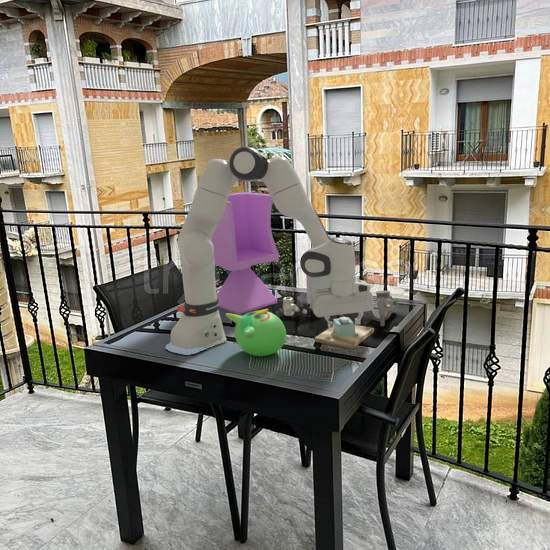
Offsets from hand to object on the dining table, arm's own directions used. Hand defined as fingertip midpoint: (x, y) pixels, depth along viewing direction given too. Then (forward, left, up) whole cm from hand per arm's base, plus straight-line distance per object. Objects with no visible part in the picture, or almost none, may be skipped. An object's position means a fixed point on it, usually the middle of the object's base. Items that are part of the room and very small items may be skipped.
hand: (344, 325), depth 181 cm
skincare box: (+23, +24, -4) cm, 33 cm away
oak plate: (0, 0, -4) cm, 4 cm away
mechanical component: (+15, -7, -4) cm, 17 cm away
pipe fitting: (+24, -4, -4) cm, 25 cm away
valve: (+10, +27, -4) cm, 29 cm away
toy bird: (-24, +18, -4) cm, 30 cm away
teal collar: (0, 0, -3) cm, 3 cm away
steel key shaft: (0, 0, -3) cm, 3 cm away
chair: (+14, +55, -4) cm, 57 cm away
